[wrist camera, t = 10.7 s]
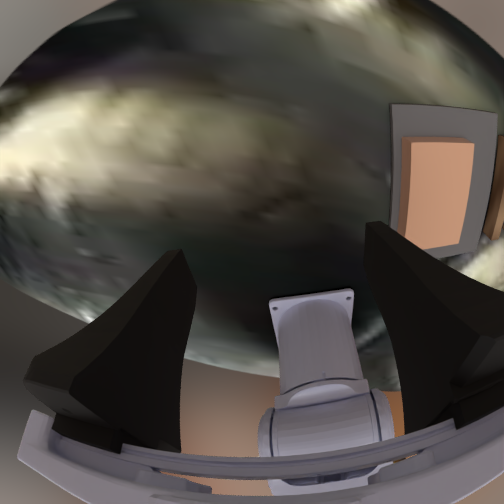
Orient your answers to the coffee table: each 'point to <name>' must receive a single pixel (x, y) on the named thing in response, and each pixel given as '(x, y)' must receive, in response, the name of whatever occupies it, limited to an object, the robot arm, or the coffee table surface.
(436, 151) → the tile
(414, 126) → the mat
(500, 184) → the rack
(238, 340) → the coffee table surface
